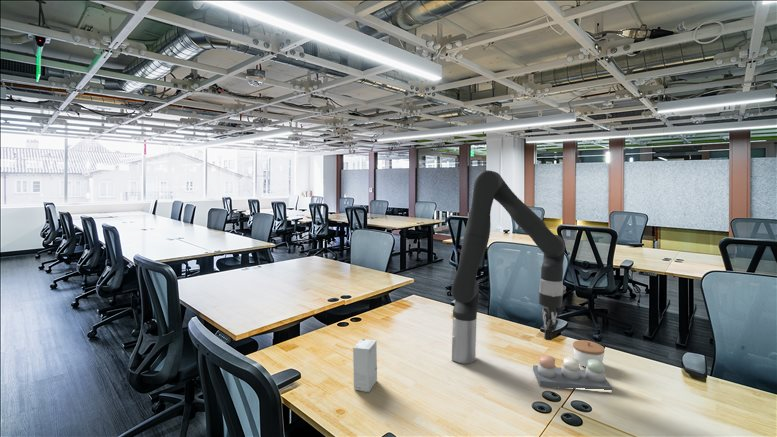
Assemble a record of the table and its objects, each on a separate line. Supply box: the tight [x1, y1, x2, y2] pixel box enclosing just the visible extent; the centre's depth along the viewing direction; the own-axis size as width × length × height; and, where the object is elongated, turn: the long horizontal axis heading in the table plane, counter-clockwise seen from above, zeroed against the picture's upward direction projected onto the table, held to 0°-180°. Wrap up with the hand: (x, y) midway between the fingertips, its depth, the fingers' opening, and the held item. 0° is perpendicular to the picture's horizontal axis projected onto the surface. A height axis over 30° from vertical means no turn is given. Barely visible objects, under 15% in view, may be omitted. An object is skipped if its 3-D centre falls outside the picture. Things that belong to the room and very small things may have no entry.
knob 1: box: [539, 354, 556, 369], centre depth 130 cm, size 5×5×2 cm
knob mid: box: [562, 356, 580, 371], centre depth 129 cm, size 5×5×2 cm
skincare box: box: [352, 338, 378, 393], centre depth 126 cm, size 8×6×15 cm
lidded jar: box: [572, 339, 605, 368], centre depth 141 cm, size 11×11×9 cm
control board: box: [532, 361, 613, 391], centre depth 129 cm, size 23×11×5 cm, turn 80°
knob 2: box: [587, 359, 605, 373], centre depth 128 cm, size 5×5×2 cm
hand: (548, 339), depth 130 cm, fingers closed
